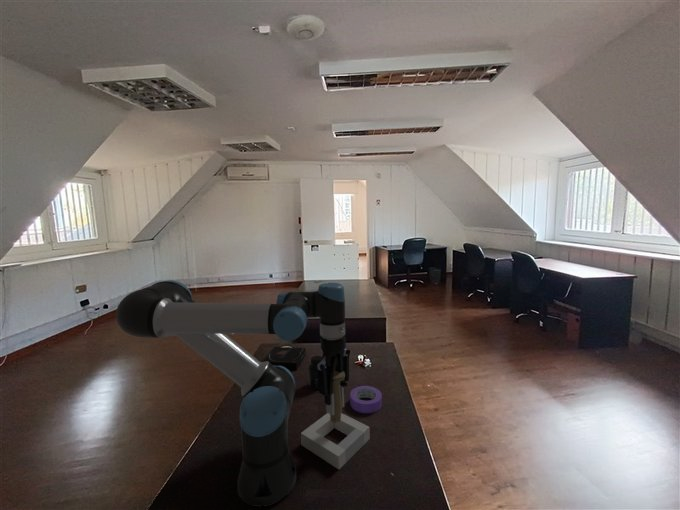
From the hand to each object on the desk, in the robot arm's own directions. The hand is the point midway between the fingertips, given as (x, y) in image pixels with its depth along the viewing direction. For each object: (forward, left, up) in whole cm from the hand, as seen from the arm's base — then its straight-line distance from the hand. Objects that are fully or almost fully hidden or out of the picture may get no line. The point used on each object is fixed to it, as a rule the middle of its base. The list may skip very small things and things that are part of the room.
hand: (335, 409), depth 93 cm
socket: (0, 0, -11) cm, 11 cm away
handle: (0, 0, -4) cm, 4 cm away
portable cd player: (+26, +55, -12) cm, 62 cm away
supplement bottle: (+20, +27, -11) cm, 35 cm away
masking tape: (+22, +4, -11) cm, 25 cm away
